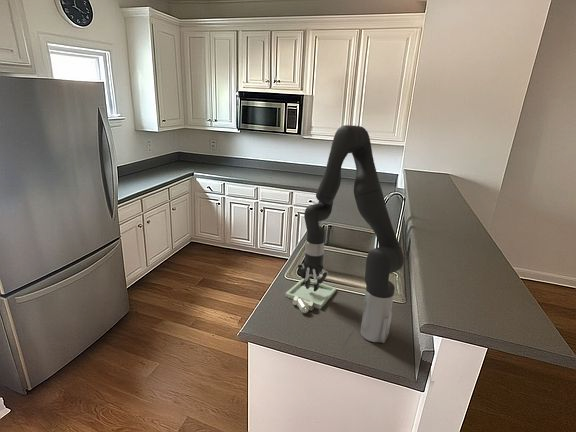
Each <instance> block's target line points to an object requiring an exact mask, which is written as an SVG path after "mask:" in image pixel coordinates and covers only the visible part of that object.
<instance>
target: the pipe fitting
mask: <svg viewBox="0 0 576 432" xmlns="http://www.w3.org/2000/svg"><path fill="white" fill-rule="evenodd" d="M292 305H294V306H297V308H298V309H299V310H300V312H301V313H302V314H307V313H308V312H309V311H313V310H314V309H315V307H314V306H315V302H313V301H309V300H306V299H303V298H300V297H298V296H295V297H294V299H292Z"/></svg>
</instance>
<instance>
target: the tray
mask: <svg viewBox="0 0 576 432" xmlns="http://www.w3.org/2000/svg"><path fill="white" fill-rule="evenodd" d="M304 282H306V281H305V279H304V278H301V279H300V280H299V281H298V282H297V283H296V284H295V285H293V286H292V287H291V288H289V290H287V291H285V297H286V298H288V299H291V300H293V299H294V297H295V296H298V297H300V298H303V299H306V300H309V301H313V302H315V306H314V309H318V310H322V309H323V307H324V306H325V305H326V303H328V301H329V300H330V299H331V298H332V296H333V295H334V294H335V292H337V287H334V286H331V285H328V284H325V283H323V282H322V283H321V284H319V289H318V290H317V291H316V292H315V291H314V286H313V287H312V286H310V288H309V289H306V287H305V285H302V284H303V283H304ZM314 283H315V281H314V280H313V279H310V285H314Z"/></svg>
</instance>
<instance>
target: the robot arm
mask: <svg viewBox="0 0 576 432" xmlns="http://www.w3.org/2000/svg"><path fill="white" fill-rule="evenodd" d="M334 133H335V134H334V136H333V140H332V143H331V147H330V151H329V155H328V159H327V164H326V167H325V171H324V173H323V176H322V179H321V182H320V183H319V185H318V188H317V190H316V194H315V198H316V199H317V201H318V202H317V203H313V204H310V205H308V206H307V207H306V208H305V210H304V214H303V215H304V217H303V218H304V222H305V227H306V241H305V248H304V262H303V263H302V262H301V263H299V264H298V265H297V268H298V271H299V273H300V274H299V275H300V277H301V279H303V278H304V279H305V281H306V282H305V281H304V282H305V284H304V286H305V287H306V289H309V288H310V287H311V283H310V280H311V276H312V277H313V279H314V280H313V281H315V283H314V284H313V287H314V291H315V292H316V291H317V290H318V289H319V288H320V286H319V284H321V283H322V284H323V282H324V281H325V280H326V279H327V277H328V276H329V275H328V274H330V271H329V270H325V268H324V265H323V264H324V257H325V256H324V254H325V233H326V232H325V231H326V230H325V228H324V227H323V226H321V225H320V222H323V221H325V220H327V219H328V218H329V217H330V215H331V213H332V211H333V205H334V201H335V197H336V196H337V193H338V191H339V190H340V186H341V181H342V165H343V164H344V160H346V157H347V156H348V154H351V155H352V157H353V161H354V164H355V177H354V178H355V179H354V185H353V196H354V200H355V203H356V207H357V210H358V213H359V214H360V216H361V217H362V218H363V220H364V221H365V222H366V223H367V225H369V227H370V228H371V229H372V231H373V233H374V235H375V237H376V240H377V244H378V247H375V248H372V249H370V250H369V252H368V253H367V256H366V259H365V274H364V281H365V286H366V287H365V293H364V301H363V310H362V316H361V323H360V335H361V336H362V337H363V338H364V339H365V340H367V341H369V342H373V343H382V344H385V343H386V341H387V338H388V337H389V334H390V329H391V328H390V327H391V321H392V315H393V310H392V307H393V301H394V296H395V289H396V287H395V284H393V282H392V281H390V279H389V278H390V274H392V273H396V272H398V271H400V270H401V269H402V268H403V266H404V263H405V262H404V259H405V258H404V253H403V251H402V248H401V246H400V245H401V244H400V242H399V241H398V240H399V239H398V238H397V235H396V233H395V230H394V228H393V225H392V221H391V218H390V214H389V212H388V208H387V204H386V201H385V197H384V193H383V190H382V189H383V188H382V187H381V184H380V179H379V176H378V172H377V168H376V165H375V164H376V163H375V160H374V156H373V149H372V144H371V143H372V142H371V138H370V135H369V133H368V131H367V129H366V128H364V127H363V126H360V125H349V124H347V125H342V126H340V127H339V128H338V129H337V130H336V132H334ZM321 275H322V276H321Z"/></svg>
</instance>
